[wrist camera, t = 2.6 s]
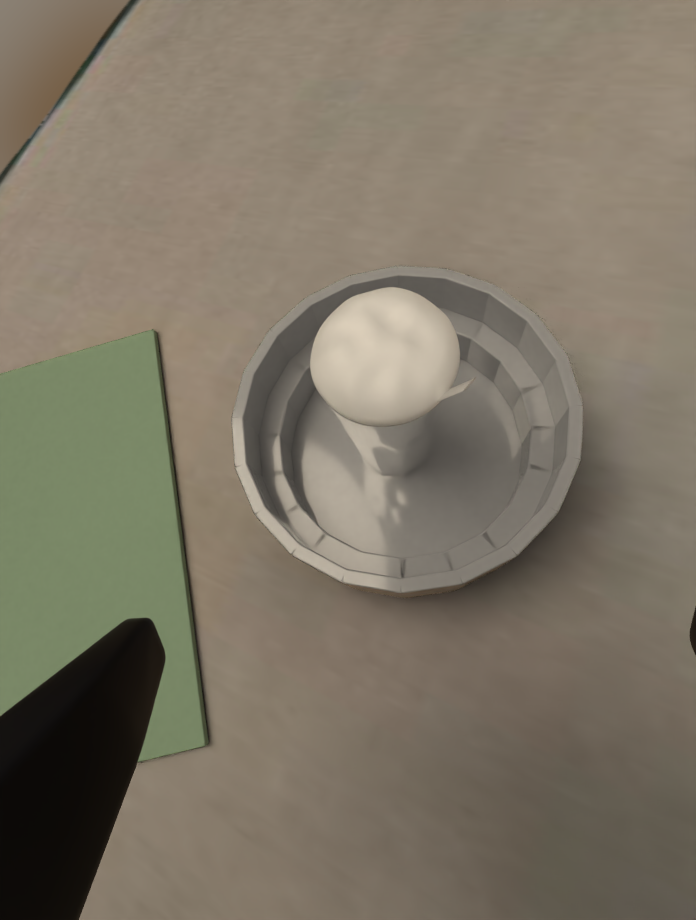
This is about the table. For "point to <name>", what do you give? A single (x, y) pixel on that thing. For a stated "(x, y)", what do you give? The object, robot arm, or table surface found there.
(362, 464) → the bowl
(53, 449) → the mat
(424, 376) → the milkshake
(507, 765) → the table surface
